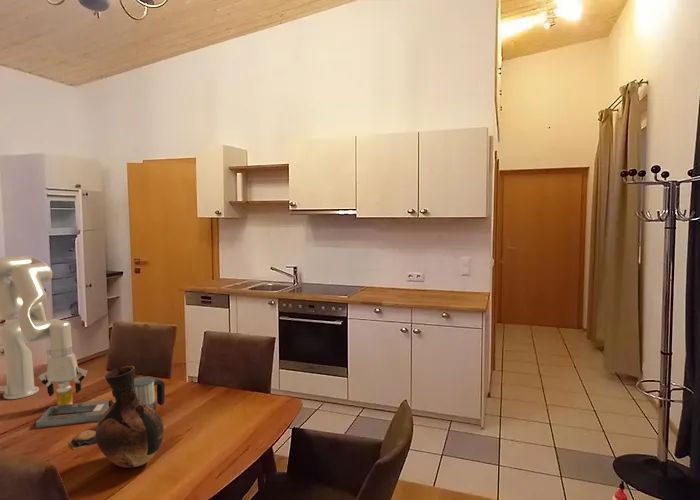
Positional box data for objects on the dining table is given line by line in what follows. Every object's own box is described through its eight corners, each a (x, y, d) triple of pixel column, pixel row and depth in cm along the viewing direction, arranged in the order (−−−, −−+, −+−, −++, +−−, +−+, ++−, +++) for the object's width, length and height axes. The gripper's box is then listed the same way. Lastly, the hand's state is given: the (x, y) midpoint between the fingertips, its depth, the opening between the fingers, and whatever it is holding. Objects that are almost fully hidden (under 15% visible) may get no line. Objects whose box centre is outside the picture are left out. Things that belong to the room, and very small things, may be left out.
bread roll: (73, 452, 150) (72, 441, 150) (67, 443, 157) (66, 432, 156) (108, 441, 157) (107, 430, 157) (102, 432, 164) (101, 422, 163)
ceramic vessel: (178, 456, 145) (173, 364, 143) (129, 486, 130) (124, 383, 128) (133, 442, 155) (128, 356, 153) (83, 468, 139) (77, 372, 137)
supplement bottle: (60, 409, 183) (58, 385, 182) (55, 405, 186) (53, 382, 186) (75, 404, 187) (73, 381, 187) (69, 401, 191) (67, 378, 190)
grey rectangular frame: (36, 428, 167) (35, 421, 167) (51, 412, 180) (50, 406, 180) (102, 420, 172) (102, 414, 172) (112, 405, 186) (111, 399, 185)
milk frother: (146, 425, 168) (144, 386, 167) (109, 422, 171) (106, 383, 170) (169, 409, 182) (167, 372, 181) (134, 406, 185) (132, 370, 184)
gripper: (33, 357, 179) (37, 399, 180) (82, 352, 183) (85, 394, 185) (41, 351, 186) (44, 392, 188) (88, 347, 191) (91, 387, 192)
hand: (64, 393), depth 186 cm, fingers open, 9 cm apart
